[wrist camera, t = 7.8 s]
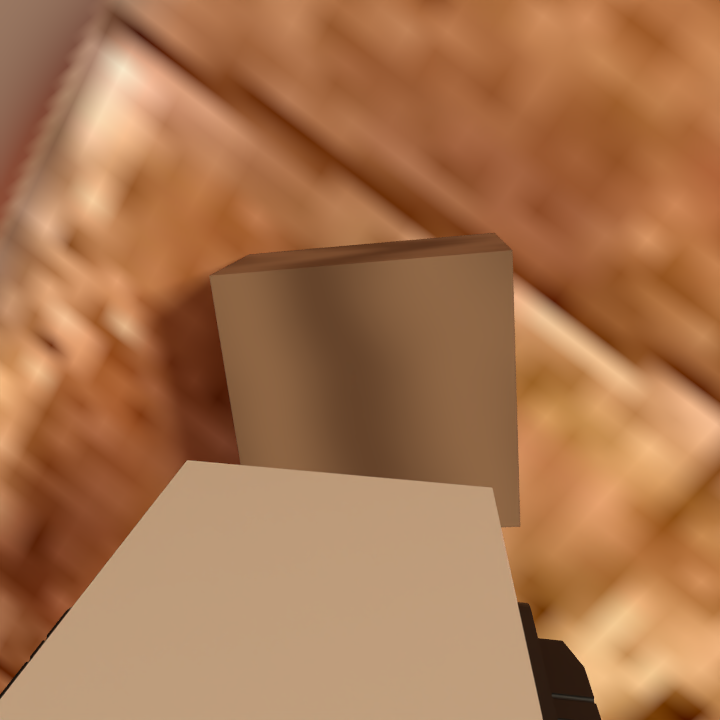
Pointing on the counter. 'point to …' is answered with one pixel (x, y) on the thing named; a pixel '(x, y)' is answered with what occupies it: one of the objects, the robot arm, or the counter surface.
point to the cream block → (293, 608)
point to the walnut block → (376, 361)
